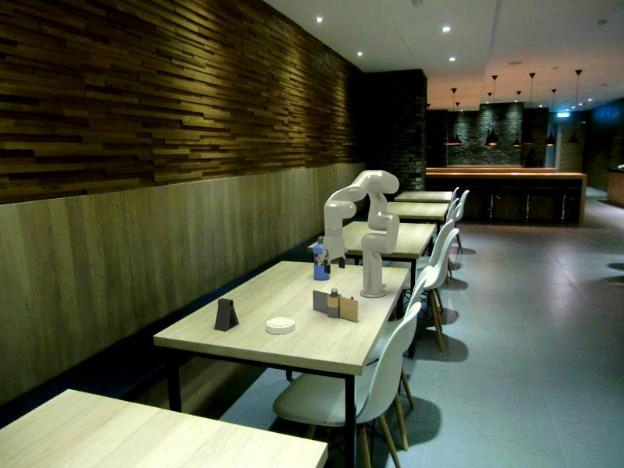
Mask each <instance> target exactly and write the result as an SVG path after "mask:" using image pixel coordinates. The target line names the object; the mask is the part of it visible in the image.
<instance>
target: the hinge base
mask: <svg viewBox="0 0 624 468" xmlns="http://www.w3.org/2000/svg"><path fill="white" fill-rule="evenodd" d="M328 294H329V293H328V292H323V291H321V290H316V289H313V290H312V311H317V312H319V313H322V314H326V315H327V318H331V319H338V318H339V319H340V318H341V317H340V307H338V308H331V307H328V306H327V295H328Z"/></svg>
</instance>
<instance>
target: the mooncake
mask: <svg viewBox="0 0 624 468" xmlns="http://www.w3.org/2000/svg"><path fill="white" fill-rule="evenodd" d="M265 330H266V332H267V333H268V334H271V335H286V334H290V333H293V332H294V331H295V330H296V320H294V318H290V317H286V316H278V317H273V318H271V319H269V320H267V321H266V322H265Z"/></svg>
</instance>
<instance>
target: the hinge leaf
mask: <svg viewBox="0 0 624 468" xmlns="http://www.w3.org/2000/svg"><path fill="white" fill-rule="evenodd" d="M327 306H328V307H331V308H338V307H340V317H339V318H342V319H346V320H349V321H352V322H355V323H356V322H359V301H358V300H355V299H354V300H352V299H350V298H348V297H343V296H342V294H341V293H338V297H331V293H328V295H327Z"/></svg>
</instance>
